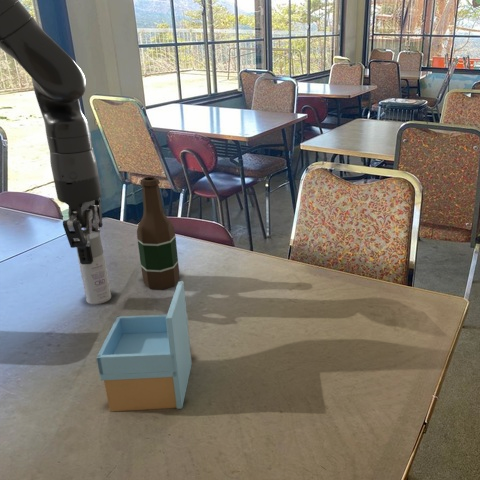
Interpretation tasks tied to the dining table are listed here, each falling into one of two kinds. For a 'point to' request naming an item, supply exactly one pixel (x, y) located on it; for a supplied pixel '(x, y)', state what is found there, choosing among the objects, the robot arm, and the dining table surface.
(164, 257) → the beer bottle
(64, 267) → the dining table surface
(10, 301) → the dining table surface
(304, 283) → the dining table surface
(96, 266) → the container
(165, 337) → the blue and tan box
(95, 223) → the robot arm
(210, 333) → the dining table surface
